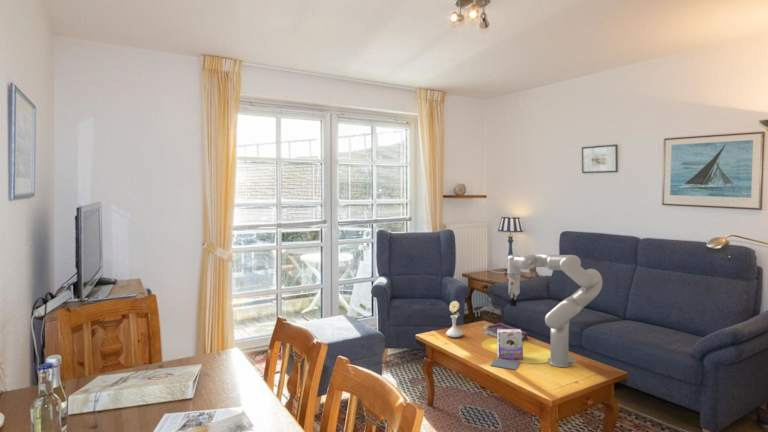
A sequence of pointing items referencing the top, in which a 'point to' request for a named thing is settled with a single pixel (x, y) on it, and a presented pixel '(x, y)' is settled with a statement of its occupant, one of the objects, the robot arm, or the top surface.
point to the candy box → (509, 343)
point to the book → (492, 329)
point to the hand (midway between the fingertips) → (513, 305)
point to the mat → (505, 363)
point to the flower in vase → (454, 321)
